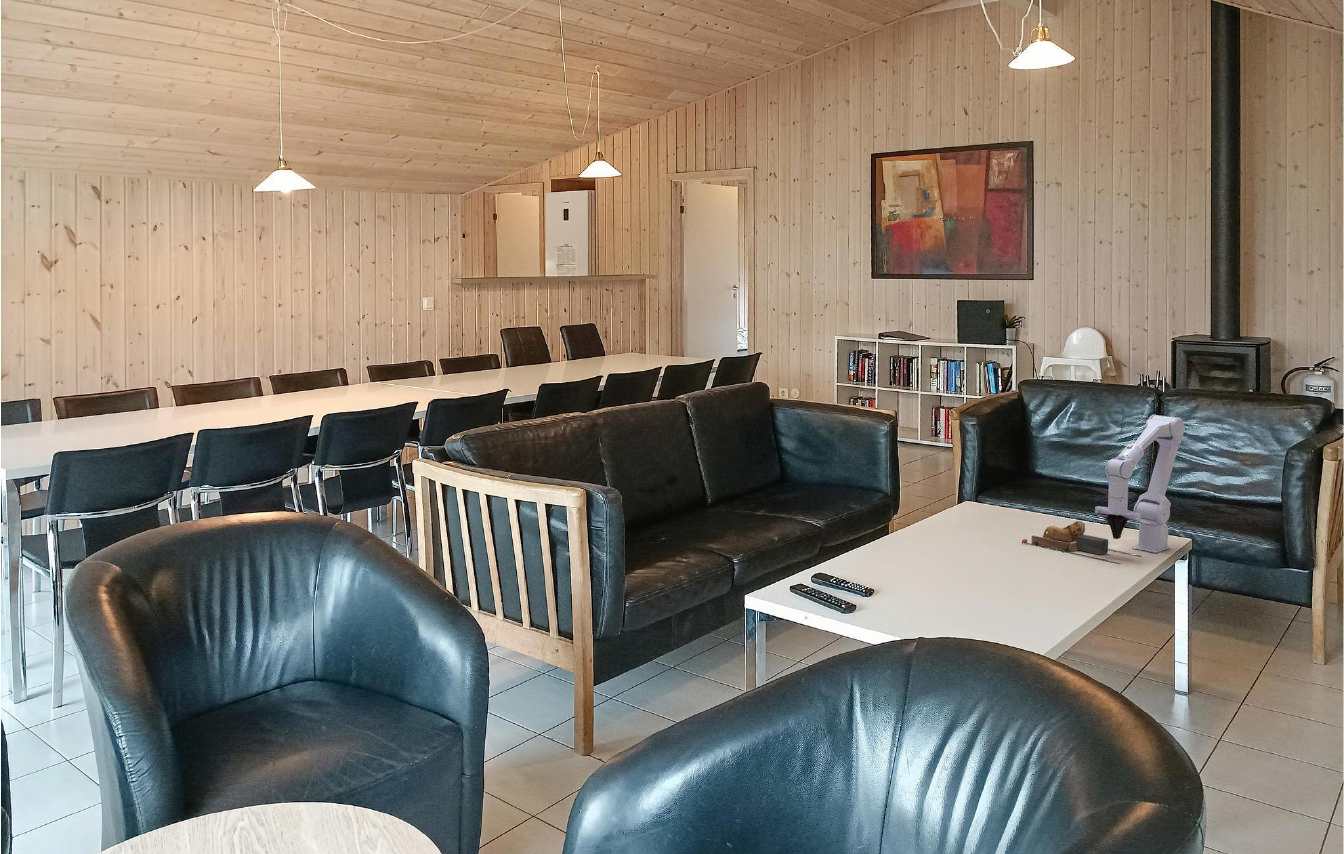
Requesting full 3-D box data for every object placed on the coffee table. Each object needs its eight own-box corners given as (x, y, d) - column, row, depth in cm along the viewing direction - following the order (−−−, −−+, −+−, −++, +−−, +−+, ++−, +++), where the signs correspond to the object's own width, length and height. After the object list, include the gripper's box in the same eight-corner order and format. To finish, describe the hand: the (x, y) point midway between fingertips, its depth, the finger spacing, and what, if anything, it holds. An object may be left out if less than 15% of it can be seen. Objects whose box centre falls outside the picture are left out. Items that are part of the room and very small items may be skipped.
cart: (1053, 537, 364) (1053, 524, 364) (1115, 550, 346) (1116, 536, 346) (1030, 543, 357) (1030, 531, 356) (1092, 557, 338) (1093, 543, 338)
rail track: (1046, 536, 367) (1046, 532, 367) (1142, 556, 339) (1142, 552, 339) (1021, 543, 359) (1022, 539, 359) (1118, 564, 331) (1118, 560, 331)
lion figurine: (1084, 545, 354) (1085, 519, 352) (1084, 549, 349) (1085, 523, 347) (1037, 543, 359) (1038, 517, 357) (1037, 547, 354) (1038, 520, 352)
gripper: (1090, 495, 340) (1089, 536, 342) (1132, 502, 328) (1131, 544, 330) (1102, 491, 344) (1101, 532, 346) (1145, 498, 332) (1143, 540, 334)
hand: (1116, 538), depth 338 cm, fingers closed
